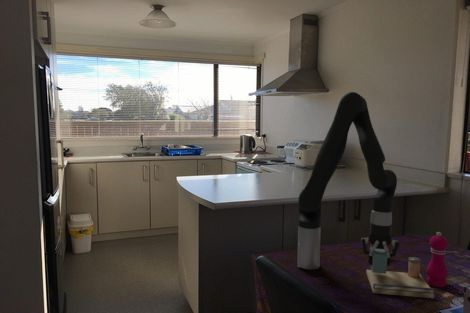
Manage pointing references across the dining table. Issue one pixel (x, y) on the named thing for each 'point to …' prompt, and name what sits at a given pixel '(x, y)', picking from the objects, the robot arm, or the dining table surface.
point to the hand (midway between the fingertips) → (378, 265)
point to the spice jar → (414, 267)
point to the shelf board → (399, 284)
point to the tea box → (379, 261)
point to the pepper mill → (437, 262)
